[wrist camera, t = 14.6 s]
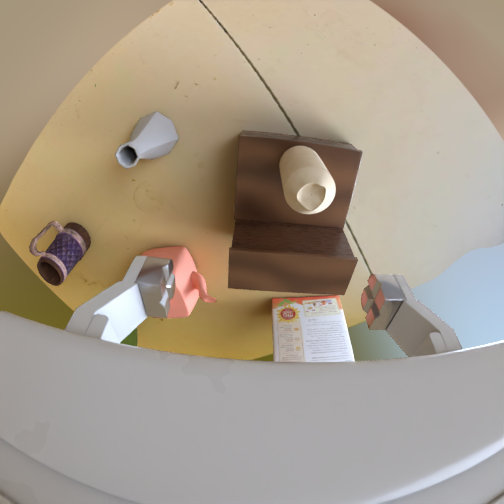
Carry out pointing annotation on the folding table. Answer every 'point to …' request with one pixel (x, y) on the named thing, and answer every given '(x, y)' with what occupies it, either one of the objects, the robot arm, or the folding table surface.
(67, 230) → the mug
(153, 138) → the flask
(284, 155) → the candle
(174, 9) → the folding table surface
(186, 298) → the teapot
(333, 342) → the cracker box
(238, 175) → the wooden step stool
